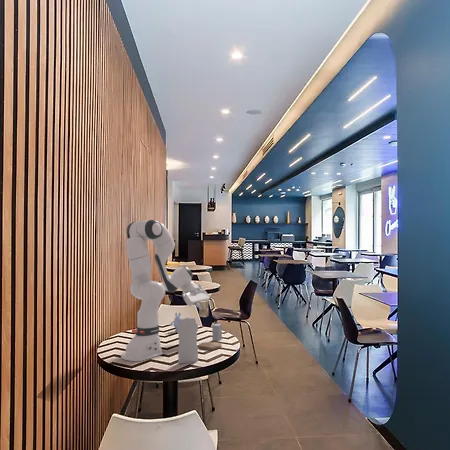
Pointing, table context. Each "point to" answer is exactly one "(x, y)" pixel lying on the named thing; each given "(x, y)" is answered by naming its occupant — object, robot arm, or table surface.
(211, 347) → the walnut board
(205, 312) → the birch block
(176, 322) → the toy figure
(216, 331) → the slate grey block
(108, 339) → the table surface
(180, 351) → the tall pale column
